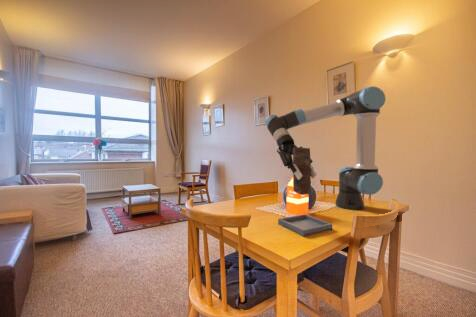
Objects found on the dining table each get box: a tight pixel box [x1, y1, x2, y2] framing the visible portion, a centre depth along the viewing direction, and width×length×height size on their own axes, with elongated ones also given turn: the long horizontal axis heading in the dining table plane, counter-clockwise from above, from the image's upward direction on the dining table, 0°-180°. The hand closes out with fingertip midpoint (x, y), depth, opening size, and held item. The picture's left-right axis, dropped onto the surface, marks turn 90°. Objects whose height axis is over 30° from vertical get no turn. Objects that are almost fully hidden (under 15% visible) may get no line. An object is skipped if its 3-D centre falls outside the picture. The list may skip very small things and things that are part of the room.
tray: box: [277, 213, 333, 237], centre depth 98 cm, size 16×16×2 cm
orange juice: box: [286, 175, 310, 216], centre depth 119 cm, size 8×9×20 cm
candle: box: [292, 146, 312, 195], centre depth 97 cm, size 8×7×20 cm
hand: (307, 177), depth 94 cm, fingers closed on candle, 7 cm apart
